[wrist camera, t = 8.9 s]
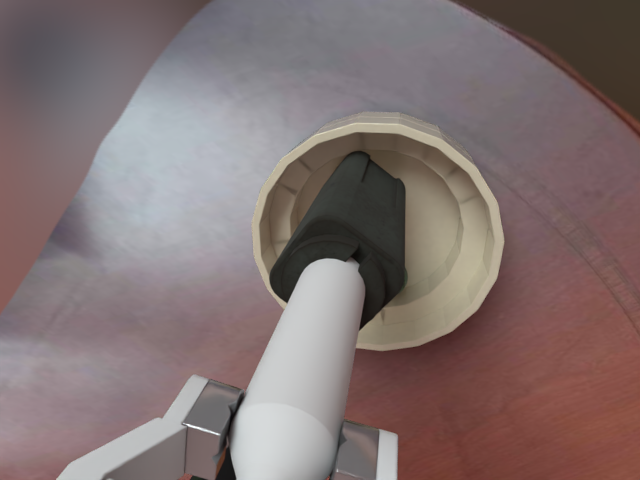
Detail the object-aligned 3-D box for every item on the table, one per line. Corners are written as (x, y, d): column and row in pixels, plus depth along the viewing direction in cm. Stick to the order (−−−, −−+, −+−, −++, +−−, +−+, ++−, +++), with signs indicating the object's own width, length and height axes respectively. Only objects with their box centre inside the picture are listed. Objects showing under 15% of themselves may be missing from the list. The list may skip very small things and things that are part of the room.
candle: (412, 188, 29) (431, 637, 7) (367, 239, 31) (269, 701, 9) (355, 143, 29) (174, 471, 6) (313, 198, 31) (69, 582, 9)
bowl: (464, 78, 29) (477, 85, 24) (503, 289, 35) (520, 332, 29) (245, 147, 34) (215, 165, 29) (312, 320, 40) (297, 363, 34)
